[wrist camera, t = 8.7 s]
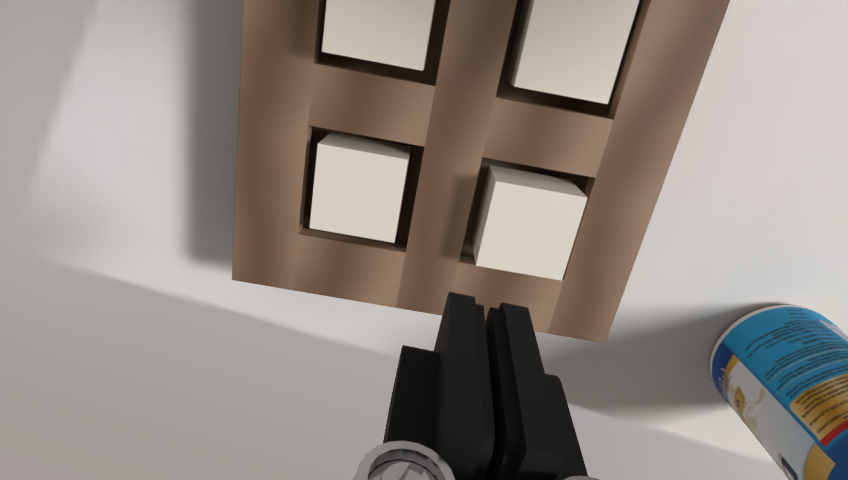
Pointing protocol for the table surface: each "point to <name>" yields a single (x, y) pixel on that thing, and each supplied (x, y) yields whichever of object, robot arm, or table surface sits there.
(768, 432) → the beverage bottle
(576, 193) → the button
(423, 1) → the button
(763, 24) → the table surface
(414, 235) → the board
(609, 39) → the button
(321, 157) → the button
